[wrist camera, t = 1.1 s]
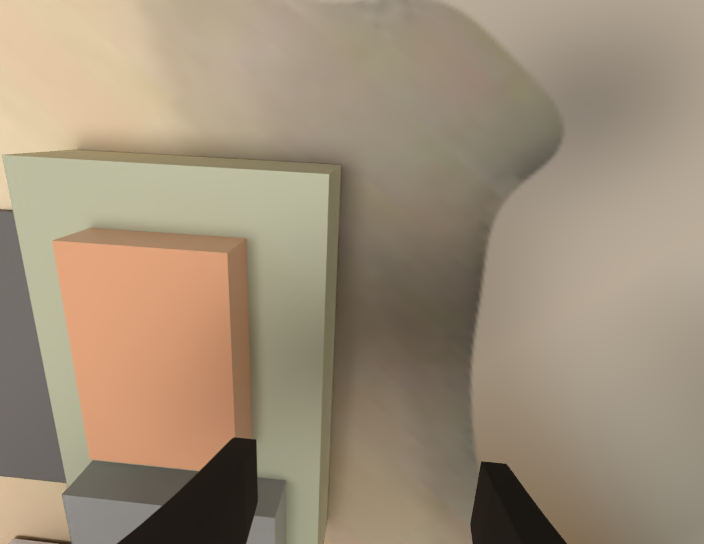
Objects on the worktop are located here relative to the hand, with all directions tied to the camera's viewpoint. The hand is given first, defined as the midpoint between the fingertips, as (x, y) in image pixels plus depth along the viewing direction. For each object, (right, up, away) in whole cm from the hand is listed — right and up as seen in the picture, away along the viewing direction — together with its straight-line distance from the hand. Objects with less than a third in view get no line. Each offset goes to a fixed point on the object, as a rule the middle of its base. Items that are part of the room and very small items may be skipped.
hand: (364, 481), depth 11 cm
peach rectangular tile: (-7, +3, +7) cm, 10 cm away
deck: (-7, +1, +11) cm, 13 cm away
